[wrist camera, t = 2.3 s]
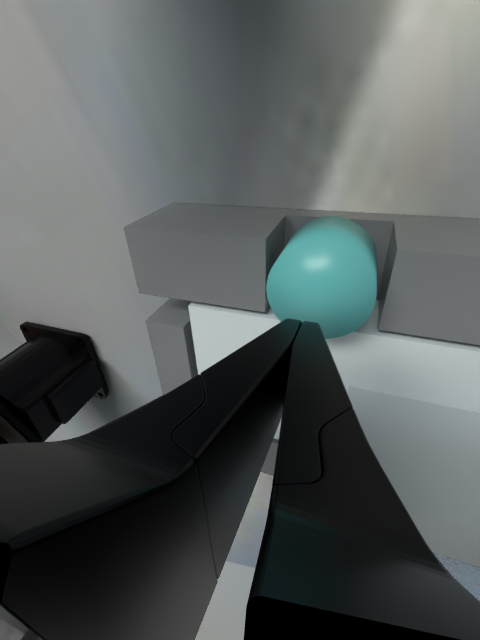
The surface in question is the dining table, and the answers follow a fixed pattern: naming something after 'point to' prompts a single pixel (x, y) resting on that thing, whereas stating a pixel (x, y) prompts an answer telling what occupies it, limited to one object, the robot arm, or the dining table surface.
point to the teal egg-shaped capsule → (326, 276)
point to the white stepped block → (394, 413)
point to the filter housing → (264, 249)
